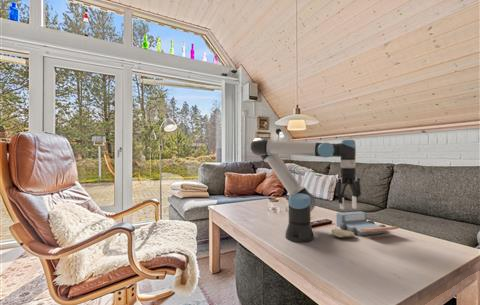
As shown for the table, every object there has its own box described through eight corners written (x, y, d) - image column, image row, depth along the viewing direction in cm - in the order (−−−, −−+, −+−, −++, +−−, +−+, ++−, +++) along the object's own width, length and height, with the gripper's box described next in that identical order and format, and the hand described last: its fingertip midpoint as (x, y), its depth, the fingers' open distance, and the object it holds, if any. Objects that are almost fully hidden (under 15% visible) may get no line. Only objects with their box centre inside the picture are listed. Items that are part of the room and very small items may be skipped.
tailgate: (360, 231, 127) (371, 231, 119) (360, 229, 127) (371, 229, 120) (386, 229, 130) (398, 229, 123) (385, 226, 131) (397, 226, 123)
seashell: (352, 232, 131) (351, 227, 131) (357, 240, 119) (356, 235, 119) (330, 232, 134) (329, 227, 134) (333, 240, 122) (332, 235, 122)
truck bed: (357, 237, 126) (357, 222, 126) (334, 226, 146) (334, 213, 146) (389, 234, 131) (389, 219, 131) (363, 223, 151) (363, 211, 151)
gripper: (336, 168, 122) (336, 211, 122) (368, 167, 127) (368, 209, 127) (327, 167, 130) (327, 208, 130) (358, 166, 134) (358, 206, 134)
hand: (348, 208), depth 128 cm, fingers open, 7 cm apart
